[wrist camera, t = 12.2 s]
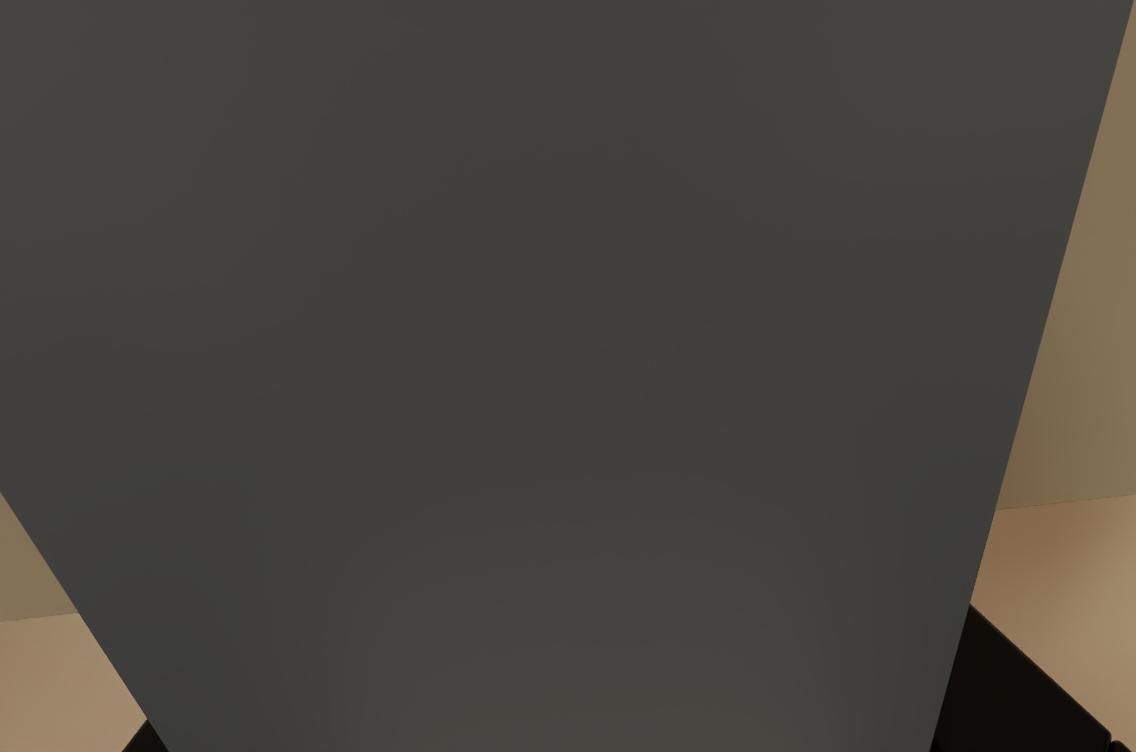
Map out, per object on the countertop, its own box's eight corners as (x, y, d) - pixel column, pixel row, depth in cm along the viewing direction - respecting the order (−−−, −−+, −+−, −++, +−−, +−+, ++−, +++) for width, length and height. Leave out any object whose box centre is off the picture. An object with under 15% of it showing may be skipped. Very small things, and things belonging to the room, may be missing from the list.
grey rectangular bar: (737, 736, 14) (825, 1132, 10) (454, 767, 14) (442, 1172, 10) (779, -304, 6) (1185, -181, 3) (146, -232, 6) (-324, -10, 3)
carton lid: (-668, -511, 6) (-801, -533, 6) (1535, -787, 6) (1655, -841, 6) (16, 573, 12) (-10, 622, 12) (1135, 447, 12) (1170, 490, 12)
